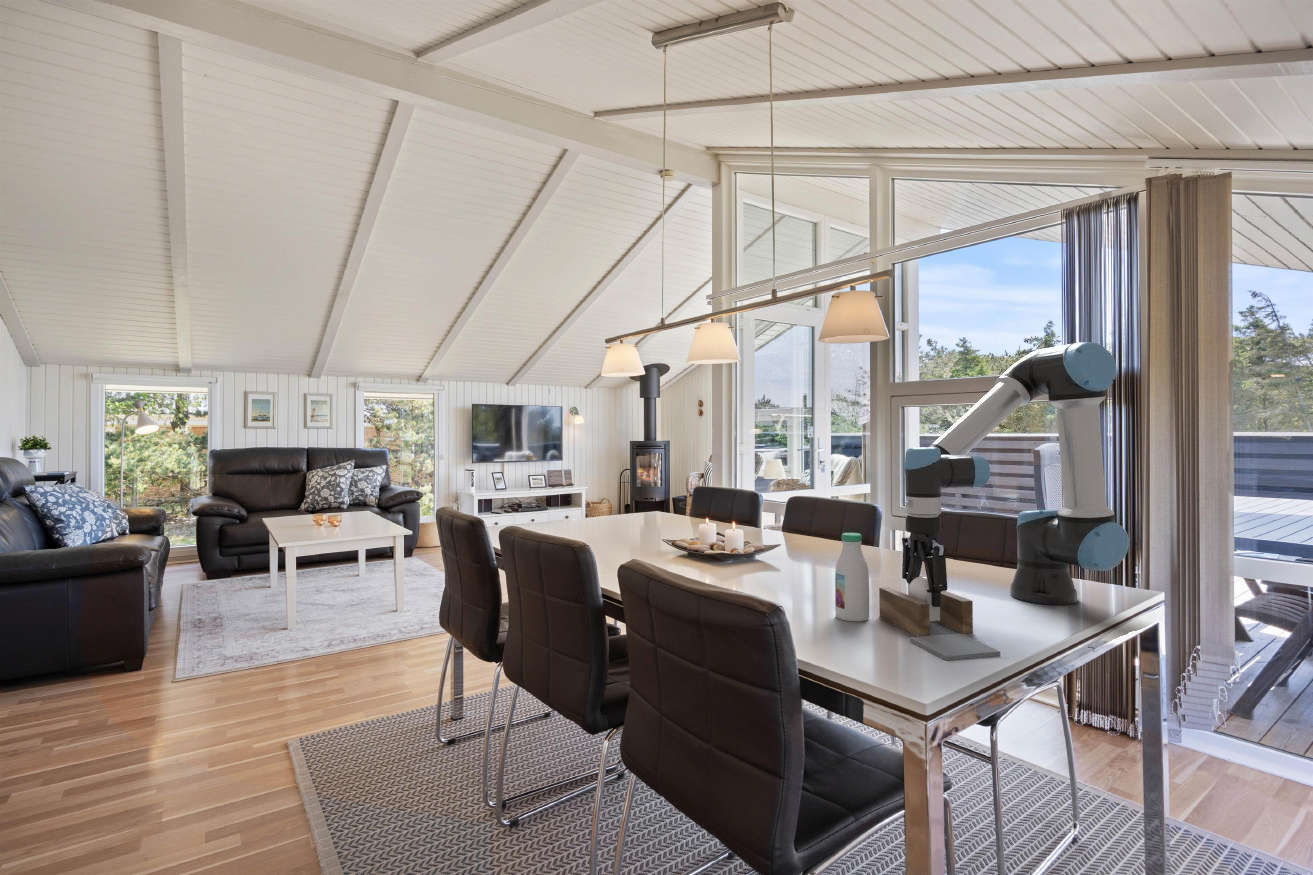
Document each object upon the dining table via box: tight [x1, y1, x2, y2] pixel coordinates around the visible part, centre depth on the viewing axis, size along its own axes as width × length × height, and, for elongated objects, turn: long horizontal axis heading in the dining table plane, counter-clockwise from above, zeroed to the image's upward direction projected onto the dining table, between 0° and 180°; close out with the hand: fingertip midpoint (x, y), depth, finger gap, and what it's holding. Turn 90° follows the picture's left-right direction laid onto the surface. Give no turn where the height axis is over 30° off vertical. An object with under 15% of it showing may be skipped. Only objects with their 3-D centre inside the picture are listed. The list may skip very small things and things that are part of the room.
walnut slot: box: [878, 586, 974, 637], centre depth 151 cm, size 13×16×7 cm
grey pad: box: [909, 632, 1001, 661], centre depth 134 cm, size 12×12×1 cm
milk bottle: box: [834, 532, 870, 622], centre depth 157 cm, size 8×8×20 cm
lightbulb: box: [909, 575, 929, 603], centre depth 151 cm, size 6×6×11 cm
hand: (924, 615), depth 151 cm, fingers closed on lightbulb, 6 cm apart
